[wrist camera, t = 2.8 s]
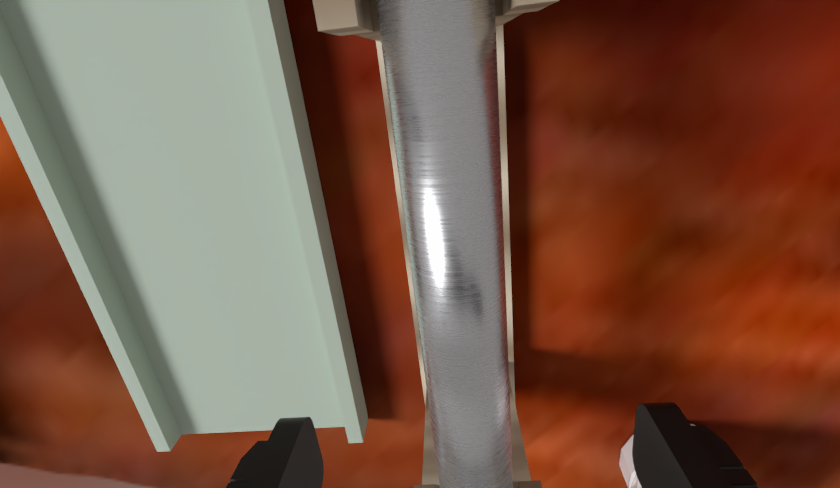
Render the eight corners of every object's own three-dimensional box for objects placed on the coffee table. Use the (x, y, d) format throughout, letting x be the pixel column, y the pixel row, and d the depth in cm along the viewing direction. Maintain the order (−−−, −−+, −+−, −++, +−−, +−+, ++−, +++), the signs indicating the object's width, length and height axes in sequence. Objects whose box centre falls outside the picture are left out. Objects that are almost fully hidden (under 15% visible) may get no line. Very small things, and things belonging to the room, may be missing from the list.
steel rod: (355, -161, 11) (322, -245, 8) (487, -183, 11) (506, -278, 8) (447, 542, 22) (448, 622, 19) (515, 541, 22) (527, 622, 19)
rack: (369, -35, 21) (280, -150, 9) (496, -53, 20) (567, -197, 9) (426, 392, 31) (416, 591, 19) (511, 387, 30) (554, 589, 19)
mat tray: (-21, -28, 22) (-72, -37, 20) (268, -71, 20) (248, -86, 18) (175, 426, 33) (157, 451, 31) (368, 417, 32) (363, 442, 30)
